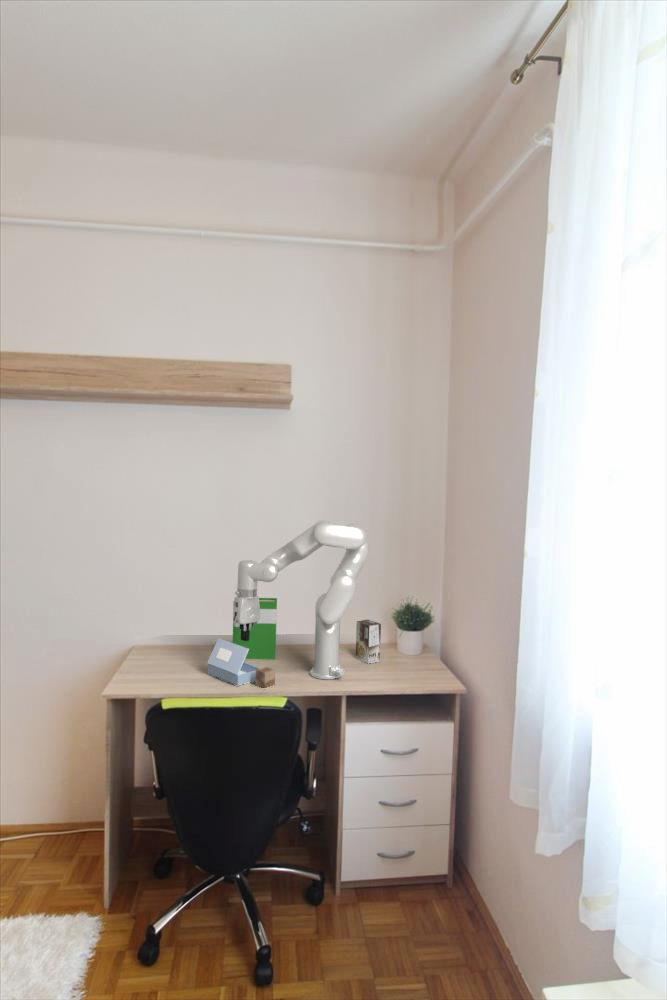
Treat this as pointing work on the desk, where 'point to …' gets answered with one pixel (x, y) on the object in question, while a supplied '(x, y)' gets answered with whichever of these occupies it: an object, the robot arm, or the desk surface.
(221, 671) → the mailer box
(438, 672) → the desk surface
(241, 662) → the lid
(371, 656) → the coffee box
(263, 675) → the walnut block
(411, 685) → the desk surface
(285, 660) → the desk surface
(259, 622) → the hardback book
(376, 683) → the desk surface
